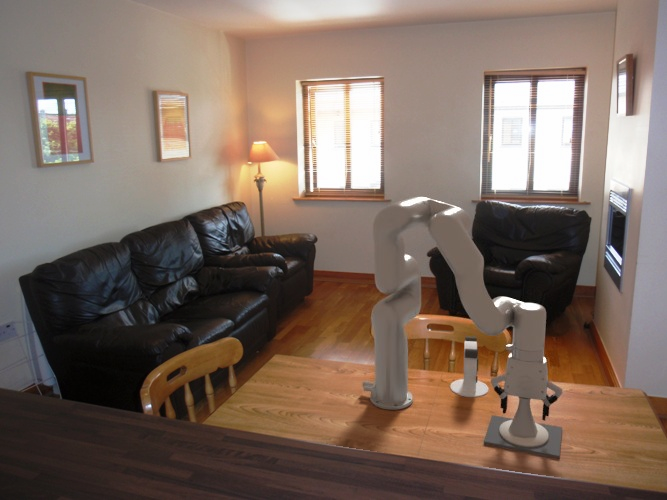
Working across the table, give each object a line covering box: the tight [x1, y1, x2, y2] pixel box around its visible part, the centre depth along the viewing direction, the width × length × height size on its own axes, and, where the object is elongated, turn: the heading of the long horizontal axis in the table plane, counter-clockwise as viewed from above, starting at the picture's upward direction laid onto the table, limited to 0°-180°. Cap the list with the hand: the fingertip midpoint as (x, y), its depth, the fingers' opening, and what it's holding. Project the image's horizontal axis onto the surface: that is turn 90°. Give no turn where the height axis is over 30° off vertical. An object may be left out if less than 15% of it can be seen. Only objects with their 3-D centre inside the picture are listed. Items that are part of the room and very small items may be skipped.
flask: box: [509, 397, 538, 438], centre depth 148 cm, size 7×7×10 cm
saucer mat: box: [483, 414, 563, 460], centre depth 149 cm, size 18×14×2 cm
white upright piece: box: [449, 336, 489, 398], centre depth 174 cm, size 12×11×15 cm
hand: (524, 414), depth 148 cm, fingers open, 9 cm apart
